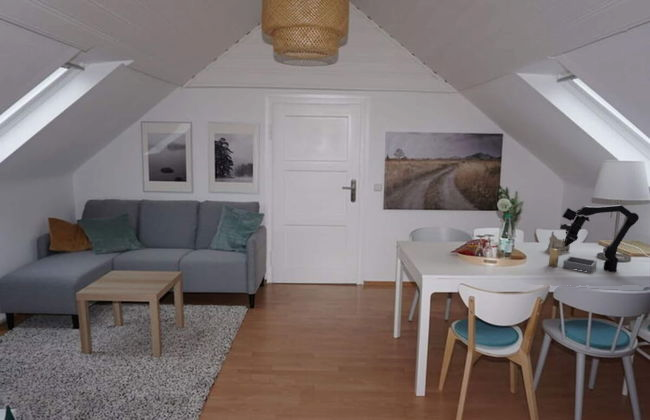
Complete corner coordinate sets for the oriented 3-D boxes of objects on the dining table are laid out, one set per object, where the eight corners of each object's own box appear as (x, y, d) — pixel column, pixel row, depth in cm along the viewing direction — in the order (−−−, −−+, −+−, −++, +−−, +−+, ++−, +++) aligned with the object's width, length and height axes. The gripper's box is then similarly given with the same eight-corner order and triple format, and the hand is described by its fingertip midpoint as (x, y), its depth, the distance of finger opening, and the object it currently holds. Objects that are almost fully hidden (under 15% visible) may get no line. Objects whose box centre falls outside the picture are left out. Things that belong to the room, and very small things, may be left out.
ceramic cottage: (548, 254, 330) (551, 233, 328) (544, 249, 345) (548, 229, 343) (572, 257, 326) (576, 236, 323) (567, 252, 341) (571, 232, 339)
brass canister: (558, 266, 301) (560, 249, 299) (556, 267, 297) (558, 250, 295) (549, 264, 304) (551, 248, 302) (547, 266, 300) (549, 249, 298)
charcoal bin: (596, 267, 299) (596, 260, 298) (591, 273, 287) (592, 266, 286) (568, 262, 309) (569, 256, 308) (563, 267, 297) (563, 261, 296)
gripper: (564, 215, 309) (552, 236, 314) (565, 220, 292) (552, 242, 297) (581, 223, 305) (569, 243, 310) (583, 229, 289) (570, 250, 294)
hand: (564, 244), depth 303 cm, fingers open, 9 cm apart
